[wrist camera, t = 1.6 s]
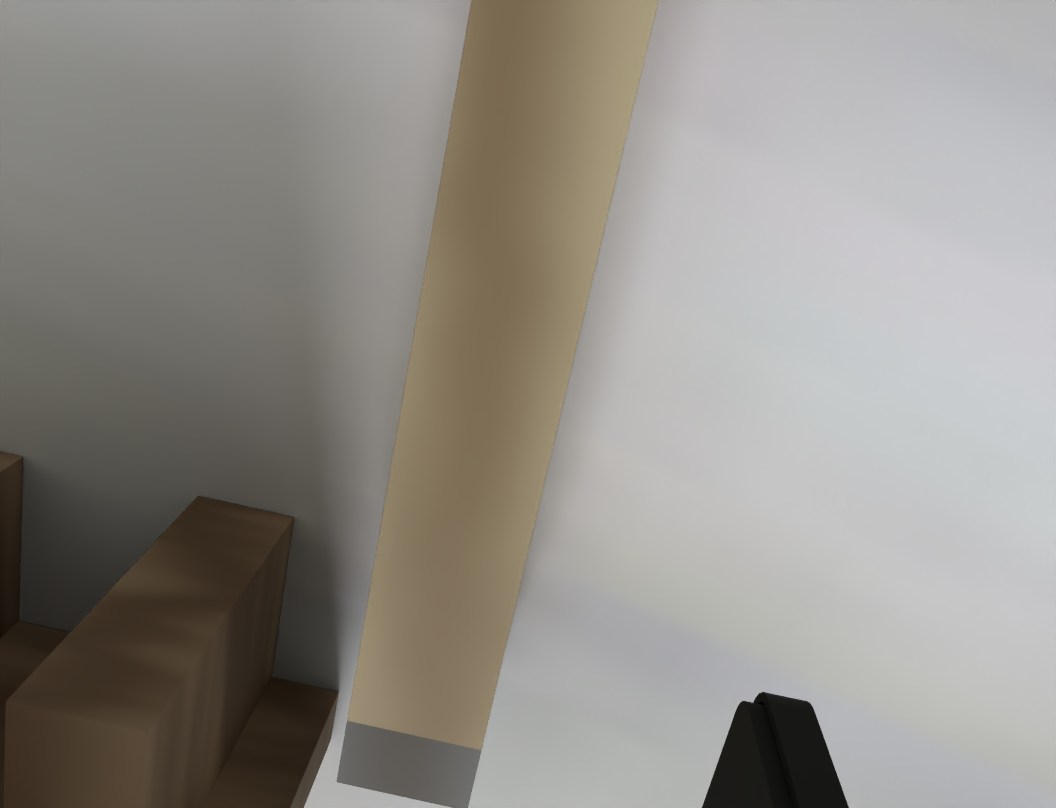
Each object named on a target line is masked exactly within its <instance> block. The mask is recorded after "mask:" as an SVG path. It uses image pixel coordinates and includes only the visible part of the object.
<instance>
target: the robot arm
mask: <svg viewBox="0 0 1056 808" xmlns="http://www.w3.org/2000/svg"><path fill="white" fill-rule="evenodd" d="M702 808H849V807H848V804H847V801H846V799H845V796H844V793H843V790H842V787H841V785H840V782H839V779H838V776H837V773H836V771H835V768H834V765H833V762H832V759H831V757H830V754H829V751H828V748H827V745H826V742H825V740H824V737H823V734H822V731H821V728H820V726H819V723H818V720H817V717H816V714H815V712H814V709H813V707H812V705H811V704H810V703H809V702H807V701H803V700H798V699H793V698H789V697H784V696H779V695H774V694H770V693H765V692H762V693H759V694H758V696H757V697H756V698H755V700H754V703H751V702H746V701H742V702H741V703H740V704H739V705H738V708H737V710H736V712H735V715H734V718H733V721H732V724H731V727H730V729H729V732H728V735H727V738H726V741H725V744H724V747H723V749H722V752H721V755H720V758H719V761H718V764H717V767H716V769H715V772H714V775H713V778H712V781H711V784H710V787H709V789H708V792H707V795H706V798H705V801H704V804H703V807H702Z"/></svg>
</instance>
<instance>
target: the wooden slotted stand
mask: <svg viewBox="0 0 1056 808" xmlns="http://www.w3.org/2000/svg"><path fill="white" fill-rule="evenodd" d="M22 467H23V457H21V456H16V455H12V454H7V453H3V452H0V808H304V805H305V803H306V800H307V798H308V795H309V793H310V790H311V788H312V785H313V783H314V780H315V778H316V775H317V773H318V770H319V768H320V765H321V763H322V760H323V758H324V755H325V753H326V750H327V748H328V745H329V743H330V740H331V734H332V728H333V722H334V716H335V710H336V704H337V698H338V692H335V691H330V690H326V689H321V688H317V687H312V686H308V685H303V684H299V683H294V682H290V681H285V680H281V679H276V678H272V671H273V664H274V656H275V649H276V642H277V635H278V627H279V620H280V613H281V606H282V599H283V591H284V584H285V577H286V570H287V562H288V555H289V548H290V541H291V534H292V526H293V519H294V517H290V516H286V515H281V514H277V513H272V512H268V511H263V510H259V509H254V508H250V507H245V506H241V505H236V504H232V503H227V502H223V501H218V500H214V499H209V498H205V497H200V496H198V497H197V498H196V499H195V500H194V501H193V502H192V503H191V504H190V505H189V506H188V507H187V508H186V510H185V511H184V512H183V513H182V514H181V515H180V516H179V517H178V518H177V519H176V520H175V521H174V522H173V523H172V524H171V526H170V527H169V528H168V529H167V530H166V531H165V532H164V533H163V534H162V535H161V536H160V537H159V538H158V539H157V540H156V542H155V543H154V544H153V545H152V546H151V547H150V548H149V549H148V550H147V551H146V552H145V553H144V554H143V555H142V556H141V558H140V559H139V560H138V561H137V562H136V563H135V564H134V565H133V566H132V567H131V568H130V569H129V570H128V571H127V572H126V573H125V575H124V576H123V577H122V578H121V579H120V580H119V581H118V582H117V583H116V584H115V585H114V586H113V587H112V588H111V589H110V591H109V592H108V593H107V594H106V595H105V596H104V597H103V598H102V599H101V600H100V601H99V602H98V603H97V604H96V605H95V607H94V608H93V609H92V610H91V611H90V612H89V613H88V614H87V615H86V616H85V617H84V618H83V619H82V620H81V621H80V623H79V624H78V625H77V626H76V627H75V628H74V629H73V630H72V631H71V632H70V633H69V632H65V631H60V630H56V629H51V628H47V627H42V626H38V625H33V624H29V623H24V622H20V621H18V619H19V581H20V543H21V505H22Z"/></svg>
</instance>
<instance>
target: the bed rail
mask: <svg viewBox="0 0 1056 808" xmlns="http://www.w3.org/2000/svg"><path fill="white" fill-rule="evenodd" d="M657 4H658V0H472V2H471V7H470V13H469V19H468V25H467V30H466V36H465V42H464V48H463V54H462V59H461V65H460V71H459V77H458V83H457V88H456V94H455V100H454V106H453V111H452V117H451V123H450V129H449V135H448V140H447V146H446V152H445V158H444V164H443V169H442V175H441V181H440V187H439V192H438V198H437V204H436V210H435V216H434V221H433V227H432V233H431V239H430V245H429V250H428V256H427V262H426V268H425V273H424V279H423V285H422V291H421V297H420V302H419V308H418V314H417V320H416V325H415V331H414V337H413V343H412V349H411V354H410V360H409V366H408V372H407V378H406V383H405V389H404V395H403V401H402V406H401V412H400V418H399V424H398V430H397V435H396V441H395V447H394V453H393V459H392V464H391V470H390V476H389V482H388V487H387V493H386V499H385V505H384V511H383V516H382V522H381V528H380V534H379V540H378V545H377V551H376V557H375V563H374V568H373V574H372V580H371V586H370V592H369V597H368V603H367V609H366V615H365V621H364V626H363V632H362V638H361V644H360V649H359V655H358V661H357V667H356V673H355V678H354V684H353V690H352V696H351V701H350V707H349V713H348V719H347V725H346V730H345V736H344V742H343V748H342V754H341V759H340V765H339V771H338V777H337V782H339V783H343V784H348V785H352V786H357V787H362V788H366V789H371V790H375V791H380V792H384V793H389V794H393V795H398V796H402V797H407V798H412V799H416V800H421V801H425V802H430V803H434V804H439V805H443V806H448V807H452V808H468V805H469V800H470V796H471V792H472V788H473V783H474V779H475V775H476V771H477V767H478V762H479V758H480V754H481V750H482V745H483V741H484V737H485V733H486V728H487V724H488V720H489V716H490V711H491V707H492V703H493V699H494V695H495V690H496V686H497V682H498V678H499V673H500V669H501V665H502V661H503V656H504V652H505V648H506V644H507V639H508V635H509V631H510V627H511V623H512V618H513V614H514V610H515V606H516V601H517V597H518V593H519V589H520V584H521V580H522V576H523V572H524V567H525V563H526V559H527V555H528V551H529V546H530V542H531V538H532V534H533V529H534V525H535V521H536V517H537V512H538V508H539V504H540V500H541V495H542V491H543V487H544V483H545V479H546V474H547V470H548V466H549V462H550V457H551V453H552V449H553V445H554V440H555V436H556V432H557V428H558V424H559V419H560V415H561V411H562V407H563V402H564V398H565V394H566V390H567V385H568V381H569V377H570V373H571V368H572V364H573V360H574V356H575V352H576V347H577V343H578V339H579V335H580V330H581V326H582V322H583V318H584V313H585V309H586V305H587V301H588V296H589V292H590V288H591V284H592V280H593V275H594V271H595V267H596V263H597V258H598V254H599V250H600V246H601V241H602V237H603V233H604V229H605V224H606V220H607V216H608V212H609V208H610V203H611V199H612V195H613V191H614V186H615V182H616V178H617V174H618V169H619V165H620V161H621V157H622V152H623V148H624V144H625V140H626V136H627V131H628V127H629V123H630V119H631V114H632V110H633V106H634V102H635V97H636V93H637V89H638V85H639V80H640V76H641V72H642V68H643V64H644V59H645V55H646V51H647V47H648V42H649V38H650V34H651V30H652V25H653V21H654V17H655V13H656V8H657Z"/></svg>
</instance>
